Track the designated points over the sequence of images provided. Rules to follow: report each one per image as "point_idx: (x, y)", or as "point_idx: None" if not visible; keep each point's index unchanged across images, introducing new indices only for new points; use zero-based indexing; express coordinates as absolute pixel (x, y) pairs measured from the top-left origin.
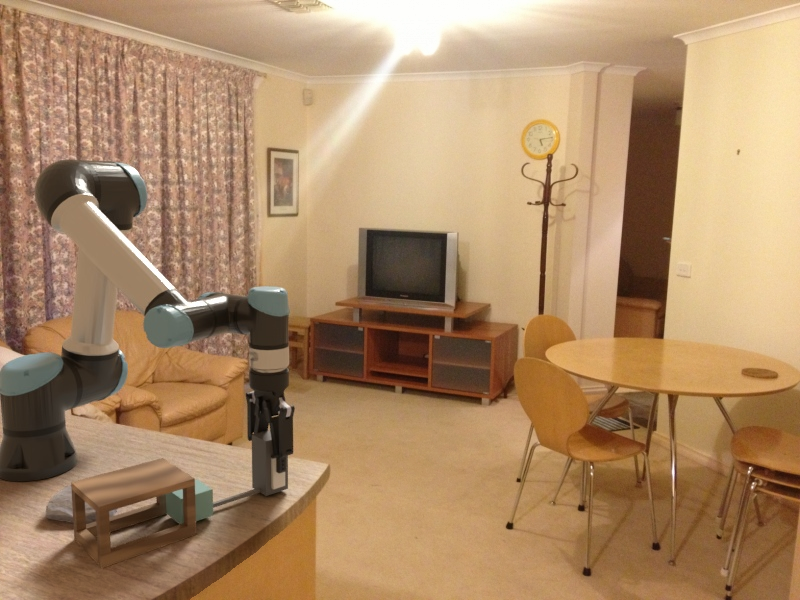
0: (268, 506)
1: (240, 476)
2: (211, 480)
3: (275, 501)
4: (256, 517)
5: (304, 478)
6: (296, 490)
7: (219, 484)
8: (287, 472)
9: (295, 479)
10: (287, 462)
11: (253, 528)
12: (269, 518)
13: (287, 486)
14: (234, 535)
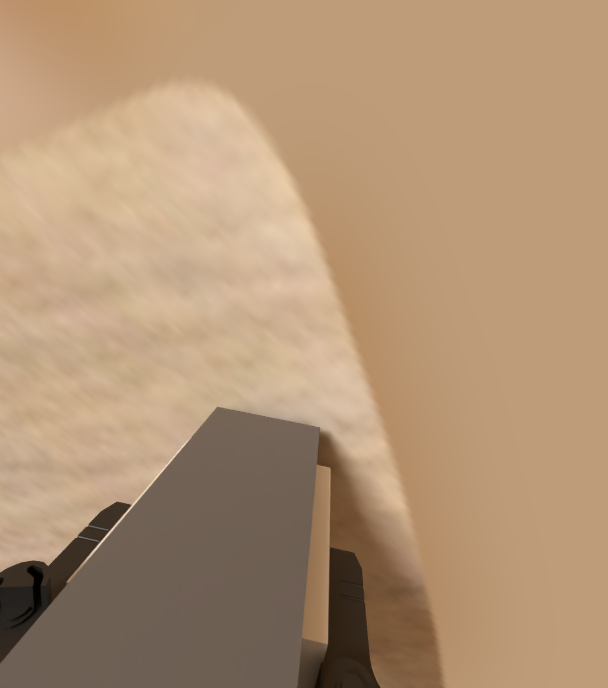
0: (347, 530)
1: (79, 423)
2: (48, 498)
3: (338, 493)
4: (372, 595)
5: (273, 278)
6: (333, 387)
7: (92, 504)
8: (315, 478)
9: (251, 312)
10: (311, 523)
11: (416, 640)
12: (412, 582)
13: (318, 434)
14: (400, 683)
